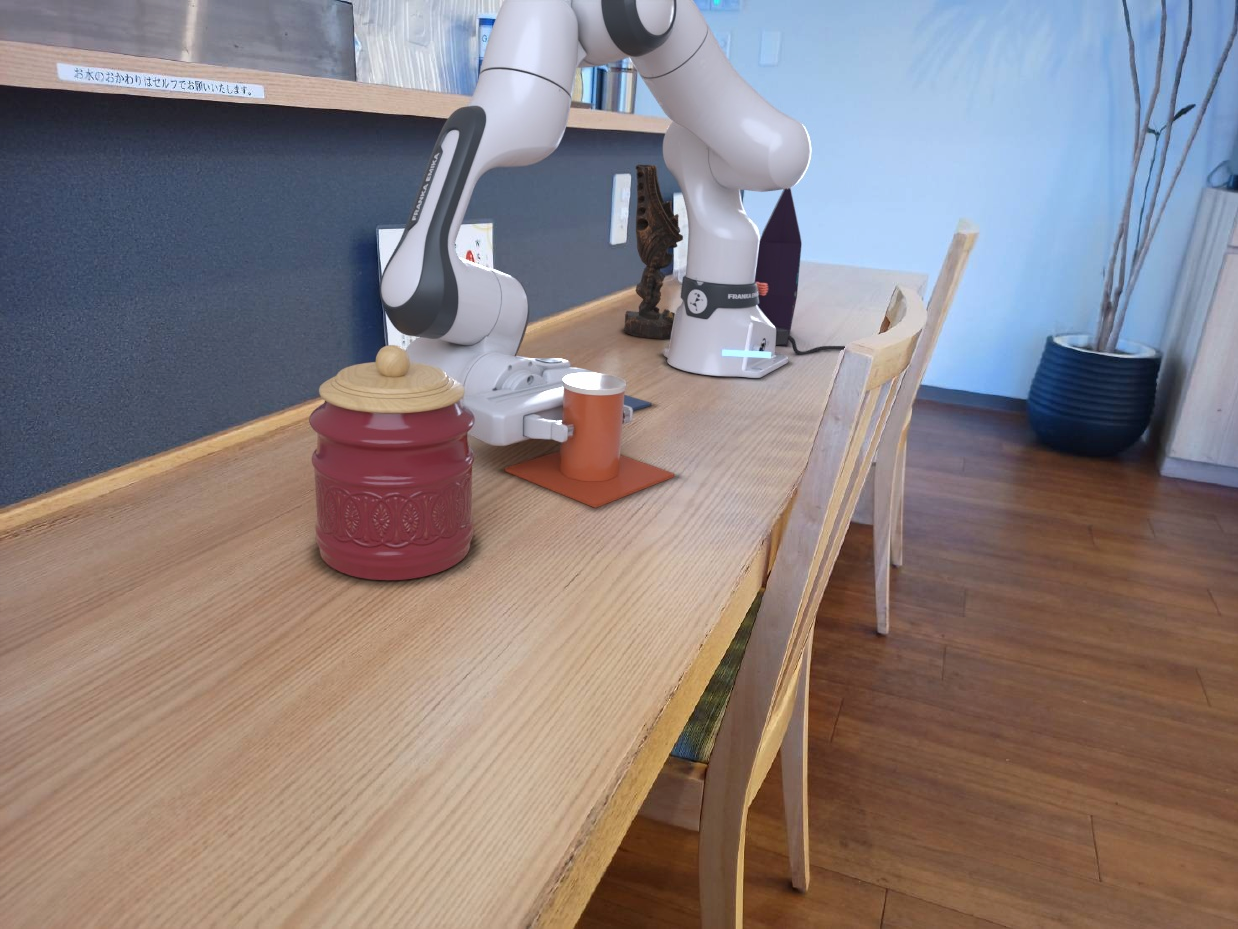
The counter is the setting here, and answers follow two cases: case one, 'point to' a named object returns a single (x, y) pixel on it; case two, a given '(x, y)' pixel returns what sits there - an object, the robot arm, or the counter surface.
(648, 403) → the blue mat
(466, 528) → the kitchen canister
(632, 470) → the terracotta mat
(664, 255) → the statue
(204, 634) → the counter surface
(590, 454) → the tumbler
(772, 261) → the dark pointed faceted spire
